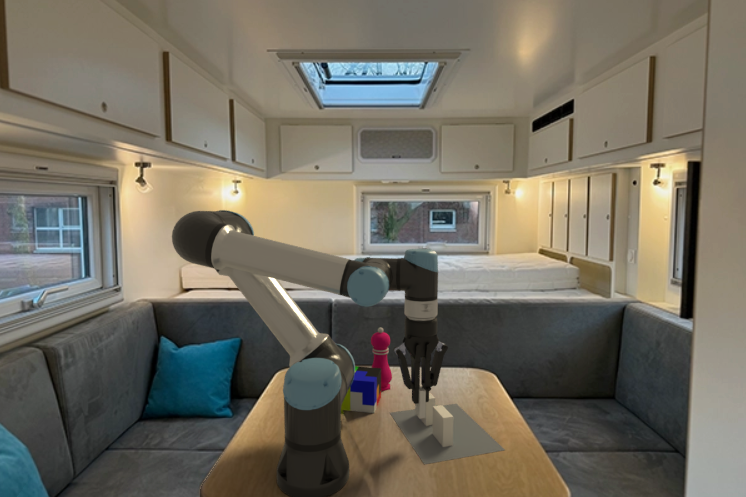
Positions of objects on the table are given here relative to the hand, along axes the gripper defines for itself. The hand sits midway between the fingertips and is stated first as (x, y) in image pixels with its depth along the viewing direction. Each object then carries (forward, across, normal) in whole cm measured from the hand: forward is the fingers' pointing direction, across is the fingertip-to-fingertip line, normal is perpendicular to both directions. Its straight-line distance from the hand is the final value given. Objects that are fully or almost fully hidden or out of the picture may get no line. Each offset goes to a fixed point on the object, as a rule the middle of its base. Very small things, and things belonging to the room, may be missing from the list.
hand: (420, 415), depth 98 cm
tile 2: (+7, +6, 0) cm, 9 cm away
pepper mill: (+8, 0, +33) cm, 34 cm away
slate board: (+8, +8, +4) cm, 12 cm away
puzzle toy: (+8, -8, +24) cm, 27 cm away
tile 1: (+7, +6, +10) cm, 13 cm away
